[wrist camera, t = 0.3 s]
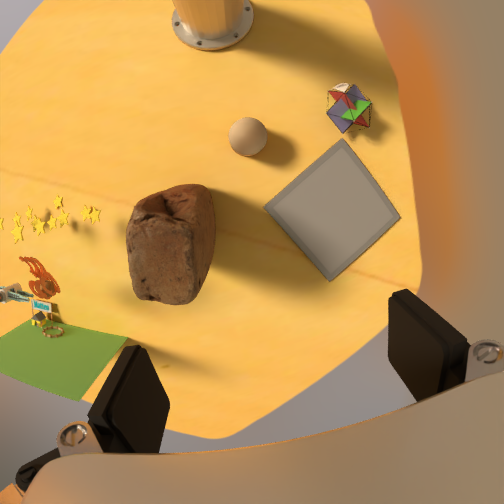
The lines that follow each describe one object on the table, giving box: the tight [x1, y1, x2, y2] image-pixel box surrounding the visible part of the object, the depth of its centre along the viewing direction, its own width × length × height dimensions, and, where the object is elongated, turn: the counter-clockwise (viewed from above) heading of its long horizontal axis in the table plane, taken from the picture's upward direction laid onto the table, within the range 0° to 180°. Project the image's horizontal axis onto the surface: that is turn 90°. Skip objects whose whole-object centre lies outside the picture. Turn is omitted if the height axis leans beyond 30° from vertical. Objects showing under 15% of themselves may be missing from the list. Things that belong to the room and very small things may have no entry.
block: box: [126, 184, 215, 305], centre depth 35 cm, size 11×8×20 cm
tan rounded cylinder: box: [229, 118, 267, 156], centre depth 40 cm, size 5×5×5 cm
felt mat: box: [264, 138, 400, 282], centre depth 45 cm, size 16×16×1 cm
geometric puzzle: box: [326, 83, 372, 134], centre depth 38 cm, size 7×7×8 cm
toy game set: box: [0, 195, 128, 401], centre depth 36 cm, size 22×25×24 cm
